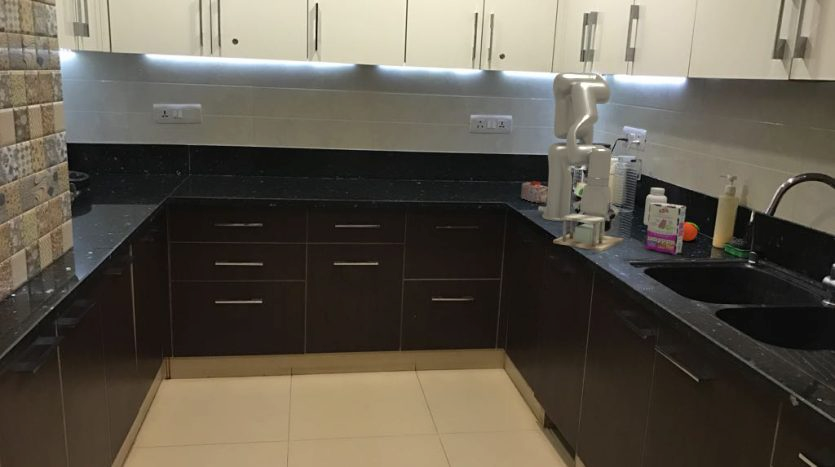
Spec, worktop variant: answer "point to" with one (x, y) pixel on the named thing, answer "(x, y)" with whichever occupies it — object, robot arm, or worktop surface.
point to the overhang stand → (596, 244)
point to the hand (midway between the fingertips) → (593, 228)
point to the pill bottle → (654, 200)
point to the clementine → (689, 231)
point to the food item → (534, 192)
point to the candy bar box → (665, 227)
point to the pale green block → (586, 233)
